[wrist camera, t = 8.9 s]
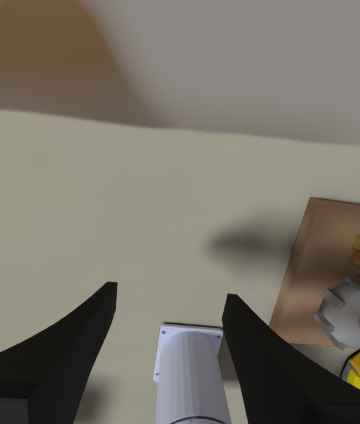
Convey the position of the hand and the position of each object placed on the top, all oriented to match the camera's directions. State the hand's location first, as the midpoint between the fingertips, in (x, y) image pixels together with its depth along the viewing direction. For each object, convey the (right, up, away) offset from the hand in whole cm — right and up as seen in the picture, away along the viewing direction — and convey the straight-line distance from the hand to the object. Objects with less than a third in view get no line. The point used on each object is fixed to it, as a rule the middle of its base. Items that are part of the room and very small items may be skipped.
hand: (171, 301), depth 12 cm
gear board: (+20, -2, +11) cm, 23 cm away
